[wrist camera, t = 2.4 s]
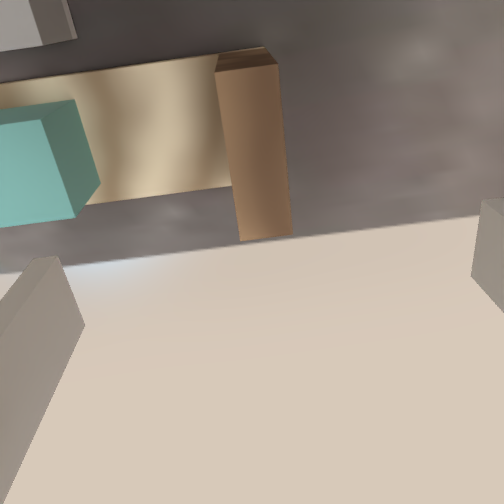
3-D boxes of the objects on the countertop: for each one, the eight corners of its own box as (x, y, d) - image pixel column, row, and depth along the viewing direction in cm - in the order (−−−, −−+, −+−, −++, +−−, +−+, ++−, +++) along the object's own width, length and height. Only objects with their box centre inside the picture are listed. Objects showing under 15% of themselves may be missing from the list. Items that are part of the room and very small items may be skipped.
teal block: (21, 193, 32) (-20, 230, 27) (-13, 111, 29) (-66, 134, 24) (100, 183, 32) (75, 217, 27) (74, 99, 29) (40, 119, 24)
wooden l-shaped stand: (-29, 215, 34) (-119, 287, 25) (-87, 95, 30) (-221, 132, 21) (276, 175, 33) (292, 234, 25) (264, 46, 29) (278, 63, 20)
